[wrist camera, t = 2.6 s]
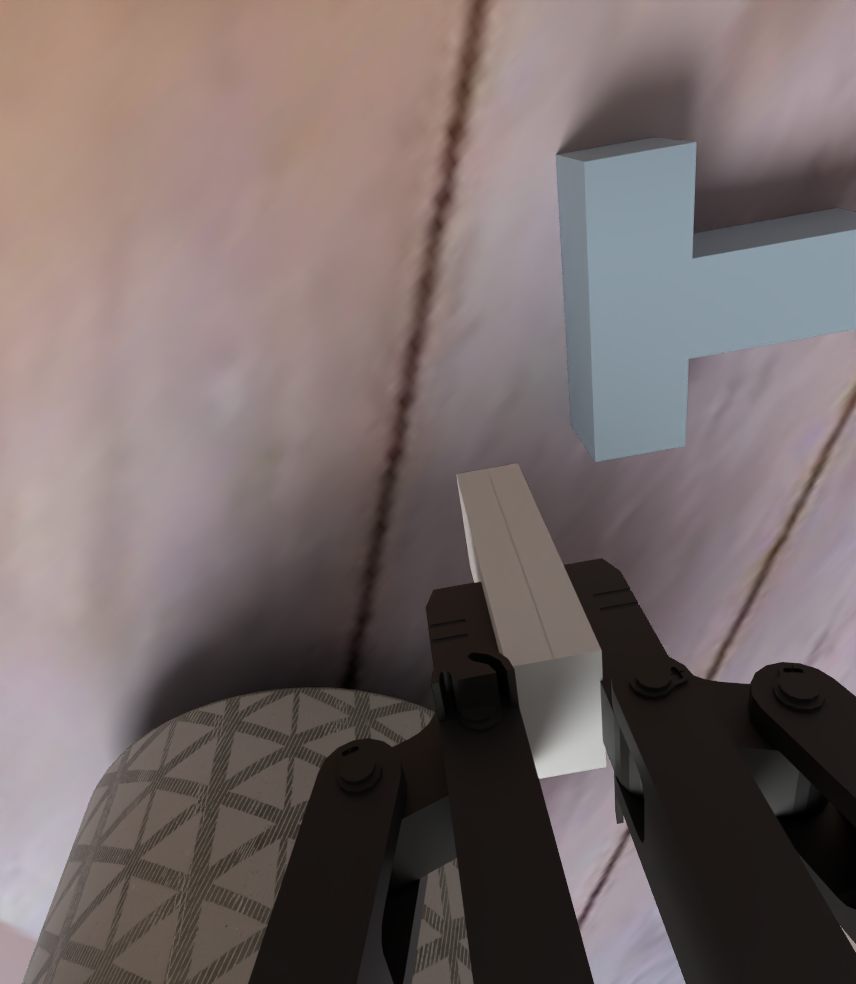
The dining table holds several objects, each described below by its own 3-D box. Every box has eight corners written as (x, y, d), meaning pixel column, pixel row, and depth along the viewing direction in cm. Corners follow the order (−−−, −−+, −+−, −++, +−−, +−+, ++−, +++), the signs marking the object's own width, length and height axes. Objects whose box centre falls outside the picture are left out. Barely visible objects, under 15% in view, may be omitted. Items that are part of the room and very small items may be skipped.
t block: (555, 154, 28) (584, 161, 24) (850, 102, 28) (921, 101, 24) (570, 425, 34) (595, 462, 30) (813, 382, 34) (866, 414, 30)
